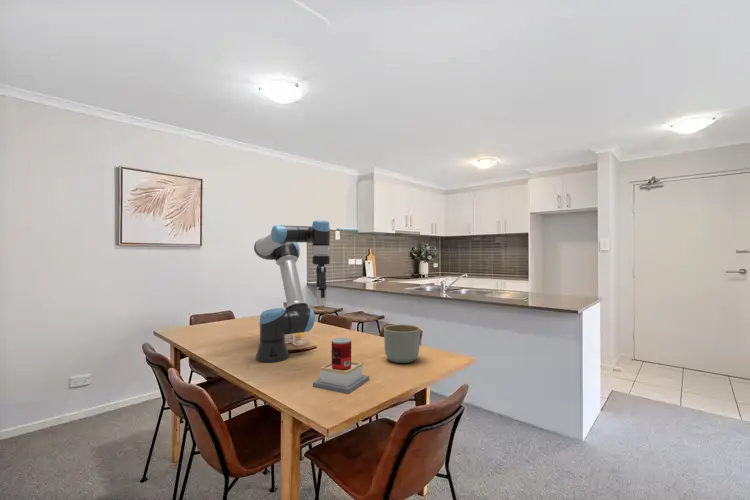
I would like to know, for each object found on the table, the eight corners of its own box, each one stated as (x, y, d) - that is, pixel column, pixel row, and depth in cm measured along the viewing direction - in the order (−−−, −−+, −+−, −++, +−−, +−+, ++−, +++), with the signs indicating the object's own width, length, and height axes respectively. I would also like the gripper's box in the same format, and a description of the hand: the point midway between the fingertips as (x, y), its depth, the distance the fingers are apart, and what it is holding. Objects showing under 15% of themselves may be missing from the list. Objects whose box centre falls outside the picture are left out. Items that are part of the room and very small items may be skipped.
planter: (376, 359, 174) (376, 327, 174) (403, 353, 185) (403, 323, 185) (400, 368, 161) (400, 333, 161) (427, 361, 171) (427, 328, 171)
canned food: (352, 364, 147) (352, 337, 147) (349, 371, 139) (349, 342, 139) (334, 364, 148) (334, 337, 148) (329, 370, 140) (329, 342, 140)
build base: (312, 386, 140) (312, 368, 140) (335, 373, 154) (335, 357, 154) (348, 393, 133) (348, 374, 133) (369, 379, 147) (369, 362, 147)
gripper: (332, 255, 151) (333, 307, 151) (326, 255, 175) (326, 299, 175) (314, 255, 149) (314, 307, 149) (310, 255, 173) (310, 299, 173)
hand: (321, 303), depth 162 cm, fingers open, 13 cm apart
